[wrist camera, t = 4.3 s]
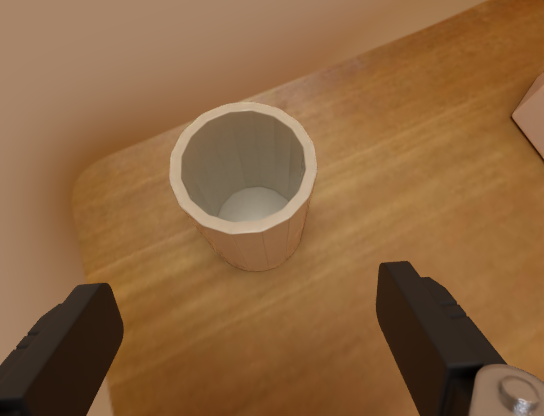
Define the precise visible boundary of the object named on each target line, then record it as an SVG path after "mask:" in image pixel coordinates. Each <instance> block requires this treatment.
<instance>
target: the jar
mask: <svg viewBox="0 0 544 416" xmlns="http://www.w3.org/2000/svg"><path fill="white" fill-rule="evenodd" d="M512 118H513V119H514V121H515V122H516V123H517V125H518V126H519V127H520V129H521V130H522V131H523V132H524V134H525V135H526V136H527V138H528V139H529V140H530V142H531V143H532V144H533V146H534V147H535V148H536V149H537V151H538V152H539V153H540V155H541V156H542V157H543V159H544V72H542V73H541V74H540V75H539V76H538V77H537V78H536V80H535V81H534V83H533V84H532V86H531V87H530V89H529V90H528V92H527V93H526V95H525V96H524V98H523V99H522V101H521V102H520V104H519V105H518V106H517V108H516V109H515V111H514V112H513V114H512Z"/></svg>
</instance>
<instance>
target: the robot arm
mask: <svg viewBox="0 0 544 416" xmlns="http://www.w3.org/2000/svg"><path fill="white" fill-rule="evenodd" d="M376 313H377V318H378V322H379V325H380V327H381V330H382V332H383V334H384V336H385V339H386V341H387V343H388V345H389V347H390V350H391V352H392V354H393V356H394V359H395V361H396V363H397V365H398V368H399V370H400V372H401V374H402V376H403V379H404V381H405V383H406V385H407V388H408V390H409V392H410V394H411V397H412V399H413V401H414V403H415V405H416V408H417V410H418V412H419V414H420V416H544V382H543V381H541V380H540V379H538V378H537V377H535V376H534V375H532V374H530V373H528V372H526V371H524V370H522V369H519V368H516V367H513V366H509V365H507V363H506V362H505V361H504V360H503V359H502V357H501V356H500V355H499V354H498V352H497V351H496V350H495V349H494V347H493V346H492V345H491V344H490V342H489V341H488V340H487V339H486V338H485V336H484V335H483V334H482V333H481V331H480V330H479V329H478V328H477V326H476V325H475V324H474V323H473V321H472V320H471V319H470V318H469V317H467V316H466V313H465V312H464V310H463V309H462V308H461V307H460V305H457V302H456V300H455V299H454V298H453V297H452V295H451V294H450V293H449V292H448V290H447V289H446V288H445V287H443V286H442V285H440V284H439V283H437V282H436V281H434V280H433V279H431V278H430V277H422V278H421V277H420V276H419V274H418V273H417V272H416V270H415V269H414V268H413V266H412V265H411V264H410V263H409V262H408V261H400V262H387V263H381V264H380V266H379V273H378V285H377V297H376ZM123 332H124V327H123V321H122V318H121V315H120V312H119V309H118V306H117V304H116V301H115V298H114V295H113V292H112V289H111V287H110V285H109V284H107V283H97V284H83V285H78V286H77V287H75V288H74V290H73V291H72V292H71V293H70V295H69V296H68V297H67V298H66V300H65V301H64V302H63V303H62V304H58V305H57V306H56V307H54V308H53V309H52V310H50V311H49V312H48V313H46V314H45V315H43V316H42V317H41V318H40V319H39V320H38V321H37V323H36V324H35V325H34V326H33V327H32V328H31V330H30V331H29V332H28V335H27V336H25V337H24V338H23V339H22V340H21V341H20V343H19V344H18V345H17V346H16V347H17V348H16V350H13V351H12V352H11V353H10V354H9V356H8V357H7V358H6V359H5V360H4V362H3V363H2V364H1V365H0V416H86V415H87V413H88V411H89V409H90V406H91V405H92V403H93V400H94V398H95V396H96V394H97V392H98V390H99V388H100V386H101V384H102V382H103V380H104V378H105V376H106V374H107V372H108V370H109V368H110V366H111V364H112V361H113V359H114V357H115V355H116V353H117V351H118V349H119V347H120V345H121V342H122V339H123Z"/></svg>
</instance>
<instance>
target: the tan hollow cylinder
mask: <svg viewBox="0 0 544 416" xmlns="http://www.w3.org/2000/svg"><path fill="white" fill-rule="evenodd" d="M317 170H318V169H317V161H316V154H315V147H314V144H313V142H312V141H311V139H310V138H309V136H308V134H307V133H306V131H305V130H304V128H303V127H302V125H301V124H300V123H299V122H298V121H296V120H295V119H294V118H292V117H291V116H289V115H288V114H286V113H285V112H284V111H282V110H281V109H279V108H276V107H272V106H268V105H264V104H261V103H257V102H242V103H229V104H225V105H222V106H220V107H217V108H215V109H213V110H211V111H208V112H206V113H203V114H202V115H200V116H199V117H198V118H197V119H196V120H195V121H194V122H192V123H191V124H190V125H189V126H188V127H187V128H186V129H185V130H184V131H183V133H181V135H180V137H179V139H178V141H177V143H176V145H175V147H174V149H173V151H172V153H171V156H170V177H169V181H170V185H171V187H172V189H173V192H174V194H175V196H176V199H177V201H178V203H179V205H180V207H181V208H182V209H183V211H184V212H185V213H186V214H187V216H188V217H189V218H190V219H191V221H192V222H193V223H194V224H195V225H196V227H197V228H198V229H199V230H200V232H201V233H202V234H203V235H204V237H205V238H206V239H207V240H208V242H209V243H210V244H211V245H212V247H213V248H214V249H215V250H216V251H217V253H218V254H220V255H221V256H222V257H223V258H224V259H225V260H226V261H227V262H228V263H230V264H231V265H233V266H235V267H237V268H239V269H242V270H246V271H265V270H269V269H272V268H274V267H277V266H279V265H280V264H282V263H283V262H285V261H286V260H287V259H288V258H289V257H290V256H291V255H292V254H293V253H294V251H295V250H296V248H297V247H298V245H299V242H300V239H301V235H302V232H303V229H304V225H305V221H306V217H307V213H308V208H309V204H310V200H311V196H312V192H313V188H314V184H315V180H316V176H317Z"/></svg>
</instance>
